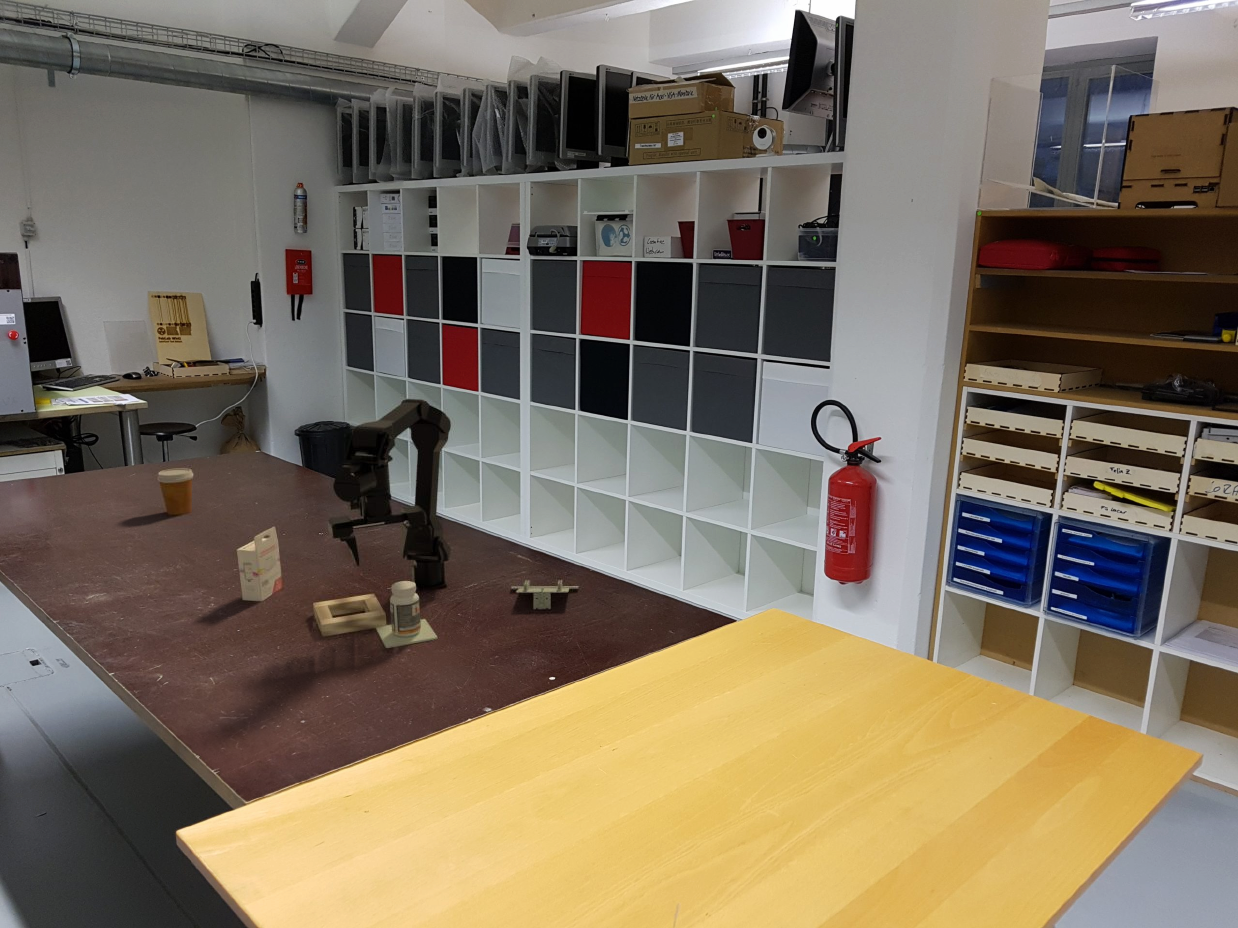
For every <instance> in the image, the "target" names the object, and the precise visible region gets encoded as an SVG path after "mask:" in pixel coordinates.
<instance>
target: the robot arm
mask: <svg viewBox="0 0 1238 928" xmlns="http://www.w3.org/2000/svg"><path fill="white" fill-rule="evenodd" d="M451 423H452V422H451V419H450V418H449V416H448V415H447V414H446V413H445V412H444V411H442V410H441V409H438V408H437V407H435V406H433V405H431V404H430V403H428V401H426V400H424V399H421V398H420V399H418V398H406V399H403V400H402V401H401V403H400V404H398V406H396V407H395V408H393V409H392V410H391V411H389V412H388V413H386V414H385V415H383V416H382V417H381V418H379V419H378V420H374V421H369V422H368V421H367V422H364V423H361V424H358V425H356V426H355V427H354V429H352V431H351V434H350V436H349V440H348V444H347V446H346V449H345V450H346V451H345V454H344V458H343V464H346V465H343V466H341V468H340V469H341V473H338V475H337V476H336V477H335V479H334V482H333V485H332V488H333V491H334V493H335V495H336V496H337V498H338V499H339V500H341V501H343V502H345V503H347V506H348V507H347V508H348V510H349V512H352V511H357V514H358V515H359V516H360V517H362V518H358V519H357V518H355V519H351V518H350V516H348V515H341V516H339V515H338V516H334V517H330V518H329V519H328V520H327V531H328V532H329V534H330V536H331V537H332V539H338V540H339V541H340V542H345V544H346V545H347V547H348V549H349V551H350V553H351V556H352V559H353V560H354V562H355V565H356V566H357V567H359V566H360V555H359V551H358V544H357V538H356V536H355V535H354V530H358V529H366V528H373V527H379V526H385V525H392V524H400V533H401V534H400V535H401V536H400V556H401V559H405V558H406V560H407V561H413V565H411V567H410V568H411V582H414V583H415V584H416V589H417V590H418V591H425V590H432V589H438V588H445V587H448V583H447V582H446V574H445V562H448V561H450V557H451V551H452V547H450V545H449V544H448V543H447V541H446V539H444V528H443V527H442V525H441V523H440V520H439V519H438V517H437V510H438V509H437V508H438V492H439V473H440V456H441V455H440V454H441V451H442V450H443V448H444V447H445V445H446V444H447V443H448V441H449V434H450V431H451V427H452V426H451V425H452V424H451ZM407 429H409V430H410V439H411V441H412V443H413V445H414V447H415V449H416V451H417V455H416V457H417V458H416V472H415V474H416V476H415V493H414V505H410V506H405V507H401V509H400V512H397V513H393V510H392V494H391V485H390V483H391V482H390V469H389V463H390V462H392V461H393V457H392V455H390V453H391V451H392V450H393V449H394V447H395V446H396V441H395V440H396V438H398V436H400V435H401V434H403V433H404V432H405V431H406V430H407Z"/></svg>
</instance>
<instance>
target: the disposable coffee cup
mask: <svg viewBox="0 0 1238 928" xmlns="http://www.w3.org/2000/svg"><path fill="white" fill-rule="evenodd" d="M193 478H194V473H193V470H192V469H191V468H188V467H187V468H186V467H185V468H184V467H183V468H182V467H181V468H179V467H177V468H169V469H164V470H160V471H159V472H158V474H157V476H156V479H157V480H158V482H159V486H160V490H161V493H162V494H161V495H162V498H163V501H164V506H165V509H166V513H167V514H168V515H169V516H180V515H181V516H182V515H187V514H189V513H190V512H191V513H192V503H193V500H192V499H193V493H192V492H193Z"/></svg>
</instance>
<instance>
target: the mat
mask: <svg viewBox="0 0 1238 928" xmlns="http://www.w3.org/2000/svg"><path fill="white" fill-rule="evenodd" d="M420 621H421V630H420V631H419V633H417V634H415V635H413V636H408V637H400V636H396V635H394V634H393V633H392V627H391V624H386V626H380V627H376V628H375V630H376V632H377V634H378V636H379V637H380V640H381V642H382V643H383V645H384V647H385V648H386V649H390V648H395V647H400V646H401V647H402V646H406V645H411V644H416V643H423V642H429V641H434V640H438V636H437V634H436V633H435V631H434V630H433V629H432V627H431V625H430V624H429V622H428V621H427V620H426V618H422V619H421V618H420Z"/></svg>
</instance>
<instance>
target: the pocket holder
mask: <svg viewBox="0 0 1238 928" xmlns="http://www.w3.org/2000/svg"><path fill="white" fill-rule="evenodd" d="M312 604H313V605H312V606H313V615H314V618H315V621H316V623H317V626H318V629H319V631H320V633H321V636H322V637H329V636H334V635H335V636H336V635H340V634H346V633H353V632H358V631H364V630H369V629H376V627H380V626H386V625H387V615H386V611H385V610H384V609H383V607H382V605H381V604H380V602H379V600H378V598H377V597H376V595H375V593H369V594H363V595H354V596H351V597H344V598H338V599H331V600H324V601H319V602H318V601H317V602H313V603H312ZM363 611H364V613H363ZM357 612H358V613H357ZM359 612H362V613H359ZM351 613H357V614H352V615H351ZM346 614H348V615H346ZM349 614H350V615H349ZM340 615H345V616H340ZM333 616H337V617H333Z"/></svg>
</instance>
